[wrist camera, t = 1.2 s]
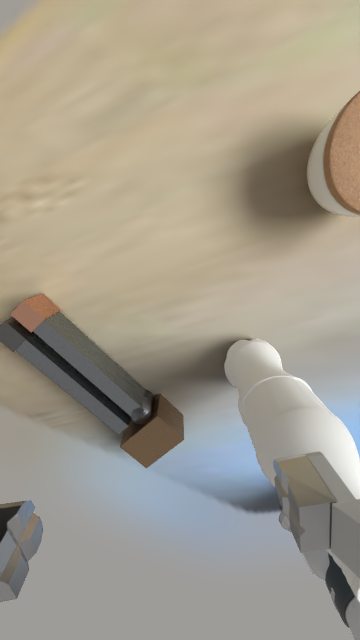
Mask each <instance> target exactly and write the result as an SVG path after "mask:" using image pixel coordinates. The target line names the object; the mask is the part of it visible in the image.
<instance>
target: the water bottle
mask: <svg viewBox="0 0 360 640" xmlns="http://www.w3.org/2000/svg"><path fill="white" fill-rule="evenodd" d="M224 369H225V374H226V377H227V379H228V380H229V382H230V383H231V384H232V385H233V386H234V387H236V388H237V389H238V393H239V399H238V408H239V412H240V415H241V417H242V420H243V422H244V424H245V425H246V427H247V429H248V432H249V434H250V437H251V440H252V443H253V445H254V448H255V451H256V457H257V460H258V463H259V465H260V467H261V469H262V471H263V473H264V474H265V476H266V477H267V478H268V480H269V481H270V482H271V484H272V485H273V486H274V487H275V481H274V478H275V477H276V472H275V470H274V468H273V461H274V459H277V458H283V457H288V456H294V455H299V454H307V453H313V452H319V451H320V452H321V453H323V455H324V456H325V457H326V459H327V460H328V461H329V463H330V464H331V465H332V467H333V468H334V470H335V471H336V472H337V474H338V475H339V476H340V478H341V479H342V480H343V482H344V483H345V485H346V486H347V487H348V489H349V490H350V491H351V493H352V494H353V496H354V497H355V498H356V499H360V459H359V455H358V451H357V448H356V445H355V443H354V440H353V438H352V436H351V434H350V433H349V431H348V430H347V428H346V427H345V425H344V424H343V423H342V422H341V420H340V419H339V418H338V417H336V416H335V415H333V414H332V413H331V412H330V411H329V410H328V408H327V407H326V406H325V405H324V404H323V403H322V402H321V401H320V400H319V399H318V397H317V396H316V395H315V394H314V393H313V392H312V390H311V388H310V387H309V386H308V384H307V383H306V382H305V381H303V380H302V379H300V378H297V377H294V376H292V375H290V374H288V373H286V372H285V371H283V369H282V363H281V359H280V356H279V354H278V353H277V351H276V350H275V349H274V348H273V347H272V346H271V345H270V344H268V343H267V342H265V341H263V340H260V339H257V338H254V339H252V340H251V341H247V340H239V341H237V342H235V343H234V344H233V345H232V346H231V347H230V348H229V350H228V352H227V356H226V361H225V364H224ZM327 552H328V553H329V554H330V555H331V556H332V557H333V559H334V561H335V562H336V564H337V565H338V566H339V567H340V568H342V572H343V574H344V575H345V577H346V579H347V582H348V584H349V585H350V586H351V589H352V591H353V593H354V595H355V597H357V599H358V601H359V602H360V579H359V578H358V577H357V576H356V575H355V574H354V573H353V572H352V571H351V570H350V569H349V568H348V567H347V566H346V565H345V564H344V563H343V562H342V561H341V560H340V559H339V558H338V557H337V556H336V555H335V554H333V553H332V552H331V549H327Z"/></svg>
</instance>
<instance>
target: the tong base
mask: <svg viewBox="0 0 360 640" xmlns="http://www.w3.org/2000/svg"><path fill="white" fill-rule="evenodd" d="M0 341H1V342H2V343H3V344H5V345H6V346H7V347H8V348H9V349H11V350H12V351H13V352H14V351H15V350H16V351H17V352H18V353H20V354H21V355H22V356H23V357H25V358H26V359H27V360H28V361H29V362H31V363H32V364H33V365H34V366H36V367H37V368H38V369H39V370H40V371H42V372H43V373H44V374H45V375H46V376H48V377H49V378H50V379H51V380H53V381H54V382H55V383H56V384H57V385H59V386H60V387H61V388H62V389H64V390H65V391H66V392H67V393H68V394H70V395H71V396H72V397H73V398H74V399H76V400H77V401H78V402H79V403H81V404H82V405H83V406H84V407H85V408H87V409H88V410H89V411H90V412H92V413H93V414H94V415H95V416H96V417H98V418H99V419H100V420H101V421H102V422H104V423H105V424H106V425H107V426H109V427H110V428H111V429H112V430H113V431H115V432H116V433H117V434H118V435H119V434H120V433H121V432H122V431H124V433H123V437H122V441H121V444H120V447H121V448H122V449H123V450H124V451H126V452H127V453H128V454H129V455H131V456H132V457H133V458H134V459H136V460H137V461H138V462H139V463H140V464H142V465H143V466H144V467H145V468H147V467H149V466H150V465H151V464H153V463H154V462H155V461H157V460H158V459H159V458H160V457H162V456H163V455H164V454H166V453H167V452H168V451H170V450H171V449H172V448H174V447H175V446H176V445H178V444H179V443H180V442H181V441H183V440H184V426H183V414H181V413H180V412H179V411H178V410H177V409H176V408H175V407H174V406H173V405H172V404H171V403H169V402H168V401H167V400H166V399H165V398H164V397H163V396H162V395H161V394H159V395H158V396H157V397H156V398H155V399H153V404H152V410H151V417H150V420H148V421H147V422H146V423H145V424H137V423H135V422H134V421H133V420H132V419H131V416H130V415H129V414H127V413H126V412H125V411H124V410H123V409H122V408H121V407H119V406H118V405H117V404H116V403H115V402H114V401H112V400H111V399H110V398H109V397H108V396H107V395H106V394H104V393H103V392H102V391H101V390H100V389H99V388H98V387H96V386H95V385H94V384H93V383H92V382H91V381H89V380H88V379H87V378H86V377H85V376H84V375H83V374H81V373H80V372H79V371H78V370H77V369H76V368H75V367H73V366H72V365H71V364H70V363H69V362H68V361H66V360H65V359H64V358H63V357H62V356H61V355H60V354H58V353H57V352H56V351H55V350H54V349H53V348H52V347H50V346H49V345H48V344H47V343H46V342H45V341H43V340H42V339H41V338H40V337H39V336H38V335H37V334H35V333H34V332H32V333H31V332H30V331H29V330H28V329H27V328H25V327H24V326H23V325H22V324H21V323H20V322H18V321H17V320H16V319H15V318H14V317H13V318H11V319H8V320H6V321H4V322H3V324H2V325H1V326H0Z"/></svg>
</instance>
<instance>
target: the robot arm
mask: <svg viewBox="0 0 360 640" xmlns="http://www.w3.org/2000/svg"><path fill="white" fill-rule="evenodd" d="M273 468H274V470H275V472H276V477H275V478H274V481H275V488H276V492H277V496H278V499H279V502H280V505H281V507H282V512H281V514H280V516H279V521H280V523H281V525H282V527H283V528H285V529H287V530H288V531H290V532H292V533H293V536H294V538H295V540H296V542H297V545H298V547H299V550H300V552H301V553H302V554H303V556H304V558H305V561H306V563H307V565H308V567H309V569H310V570H311V572H312V573H313V574H316V575H317V576H318V577H319V578H321V579H323V580H325V581H326V585H327V587H328V590H329V592H330V594H331V597H332V601H333V603H334V605H335V607H336V609H337V610H338V612H339V614H340V616H341V618H342V620H343V622H344V623H345V625H346V626H347V627H349V628H350V630H351V632H352V634H353V637H354V639H355V640H360V602H359V601H358V599H357V597H355V595H354V593H353V591H352V589H351V586H350V585H349V584H348V582H347V579H346V577H345V575H344V574H343V572H342V568H340V567H339V566H338V565H337V564H336V562H335V561H334V559H333V557H332V556H331V555H330V554H329V553H328V552H327V549H331V552H332V553H333V554H335V555H336V556H337V557H338V558H339V559H340V560H341V561H342V562H343V563H344V564H345V565H346V566H347V567H348V568H349V569H350V570H351V571H352V572H353V573H354V574H355V575H356V576H357V577H358V578H359V579H360V499H356V498H355V497H354V496H353V494H352V493H351V491H350V490H349V489H348V487H347V486H346V485H345V483H344V482H343V480H342V479H341V478H340V476H339V475H338V474H337V472H336V471H335V470H334V468H333V467H332V465H331V464H330V463H329V461H328V460H327V459H326V457H325V456H324V455H323V453H321V452H320V451H319V452H313V453H307V454H299V455H294V456H288V457H283V458H277V459H274V461H273ZM34 509H35V507H34V505H33V503H32V501H22V502H15V503H7V504H0V602H3V601H8V600H13V599H17V597H18V595H19V592H20V590H21V588H22V585H23V583H24V581H25V578H26V576H27V574H28V571H29V566H28V561H29V560H30V559H31V558H32V557H33V556H34V554H35V553H36V552H37V550H38V547H39V545H40V543H41V538H42V532H43V526H42V521H41V519H40V517H39V516H37V515H35V514H34V513H33V511H34Z"/></svg>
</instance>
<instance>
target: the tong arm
mask: <svg viewBox="0 0 360 640" xmlns="http://www.w3.org/2000/svg"><path fill="white" fill-rule="evenodd" d="M10 315H12V316H13V317H14V318H15V319H16V320H17V321H18V322H20V323H21V324H22V325H23V326H24V327H25V328H27V329H28V330H29V331H30V332H31V333H32V332H34V333H35V334H37V335H38V336H39V337H40V338H41V339H42V340H43V341H45V342H46V343H47V344H48V345H49V346H50V347H52V348H53V349H54V350H55V351H56V352H57V353H58V354H60V355H61V356H62V357H63V358H64V359H65V360H66V361H68V362H69V363H70V364H71V365H72V366H73V367H75V368H76V369H77V370H78V371H79V372H80V373H81V374H83V375H84V376H85V377H86V378H87V379H88V380H89V381H91V382H92V383H93V384H94V385H95V386H96V387H98V388H99V389H100V390H101V391H102V392H103V393H104V394H106V395H107V396H108V397H109V398H110V399H111V400H112V401H114V402H115V403H116V404H117V405H118V406H119V407H121V408H122V409H123V410H124V411H125V412H126V413H127V414H129V415H130V416H131V419H132V420H133V421H134V422H135V423H137V424H145V423H146V422H147V421H148V420H150V417H151V410H152V404H153V395H152V393H151V392H149V391H147V390H144V389H143V388H142V387H141V386H140V385H139V384H138V383H137V382H136V381H135V380H134V379H133V378H131V377H130V376H129V375H128V374H127V373H126V372H125V371H124V370H123V369H122V368H121V367H119V366H118V365H117V364H116V363H115V362H114V361H113V360H112V359H111V358H110V357H109V356H107V355H106V354H105V353H104V352H103V351H102V350H101V349H100V348H99V347H98V346H97V345H95V344H94V343H93V342H92V341H91V340H90V339H89V338H88V337H87V336H86V335H85V334H83V333H82V332H81V331H80V330H79V329H78V328H77V327H76V326H75V325H74V324H73V323H72V322H70V321H69V320H68V319H67V318H66V317H65V316H64V315H63V314H62V313H61V312H60V309H59V308H58V307H57V306H56V305H55V304H53V303H52V302H51V301H50V300H49V299H48V298H47V297H46V296H45V295H44V294H43V293H42V294H39V295H37V296H34V297H31V298H29V299H26V300H23V301H22V302H21V303H20V305H19V306H18V307H17V308H16V309H15V310H14V311H13V312H12V313H11V314H10Z"/></svg>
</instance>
